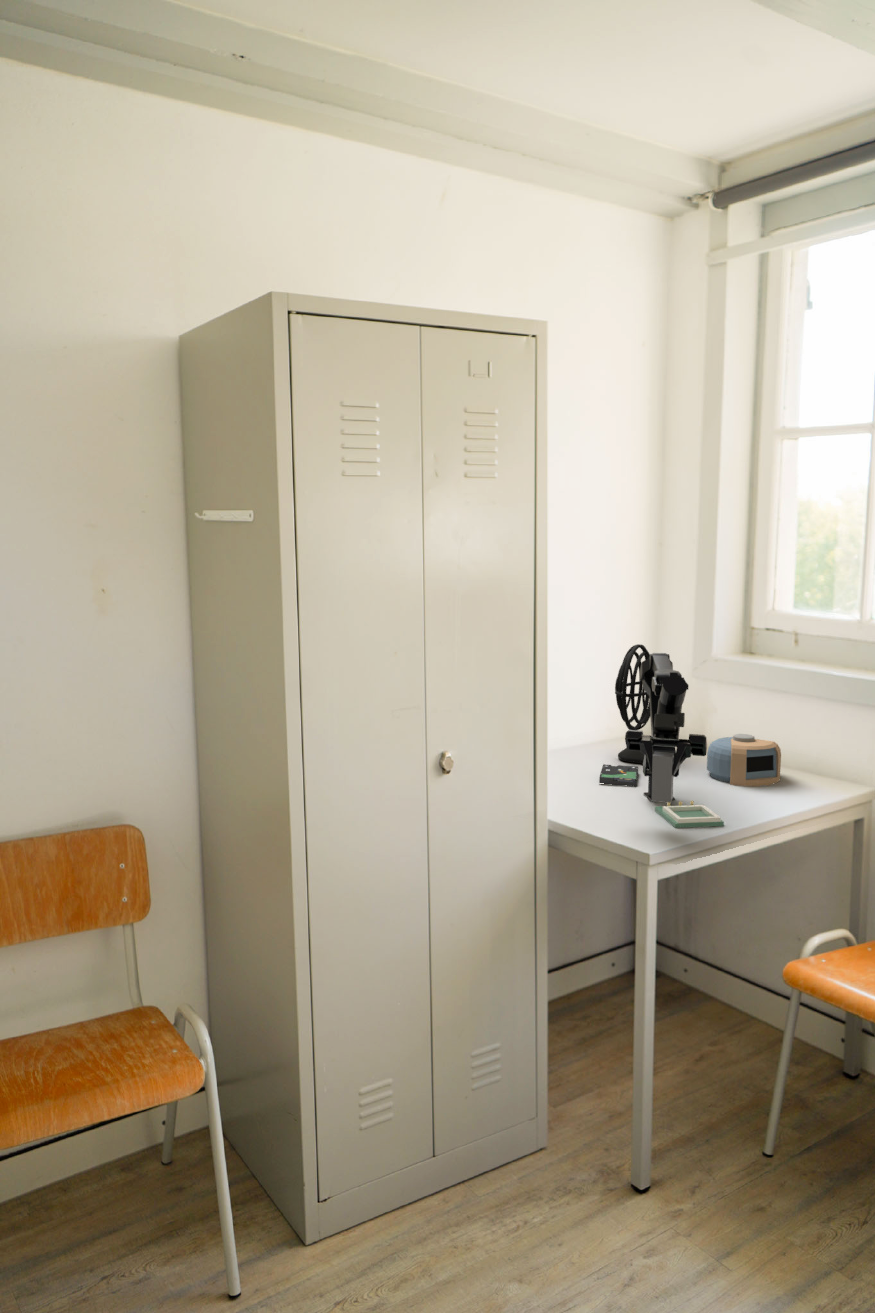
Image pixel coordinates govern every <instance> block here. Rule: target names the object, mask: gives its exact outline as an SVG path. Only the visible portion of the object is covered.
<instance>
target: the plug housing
mask: <svg viewBox="0 0 875 1313" xmlns="http://www.w3.org/2000/svg"><path fill="white" fill-rule="evenodd" d="M673 764H674V753H670V752H656V751H655V752H654V754H653V760H652V800H650V801H651V802H657V803H659V802H660V803H667V802H668V803H672V801H673V800H672V799H673V797H674V796H673V795H674V777H673V776H672V768H673Z"/></svg>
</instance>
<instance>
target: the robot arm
mask: <svg viewBox="0 0 875 1313" xmlns="http://www.w3.org/2000/svg"><path fill="white" fill-rule="evenodd" d="M649 654H650V657H649V658H648V659H646V660H645V659H644V660H642V661H641V668H640V680H642V684H643V685H642V687H643V689H644V690H645V692H646V693H647V694H648V695H649V702H650V718H649V720H650V732H651V733H650V734H651V735H649V734H644V731H643V730H641V729H639V730H629V729H628V730H627V731H626V732H625V736H624V742H625V747H626V748H627V750H629V751H641V754H644V761H643V763H642V773H643V775H644V777H648V786H647V792H646V791H645V792H643V795H644V796H645V797H646V798H648V799H649V801H651V800H652V760H653V754H654V752H655V751H656V752H670V753H674V764H673V768H672V776H673V778H678V776H680V767H681V765H682V764H683V763H684V761H685V760H686V759H687V758H688V759H689V758H690V759H691V757H692V756H698V757H699V756H700V757H706V756H707V752H708V749H707V748H708V744H707V741H708V740H707V736H706V735H705V734H696V733H695V734H694V733H689V735H688V739H684V738H680V728H684V727H685V722H686V720H685V712H683V711H682V709H683V704H684V702H685V698H686V694H687V691H688V690H689V684H688V682H687V681H686V680H685V677H683V676H682V673H681V672H680V671H678V670H674V668H673V667H674V664H673V662H672V660H671V659H670V654H669V653H665V652H664V653H663V652H653V653H649ZM675 800H676V798H675V797H674V796H673V799H672V801H675Z"/></svg>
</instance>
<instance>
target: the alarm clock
mask: <svg viewBox="0 0 875 1313" xmlns="http://www.w3.org/2000/svg"><path fill="white" fill-rule="evenodd" d="M707 748H708V749H707V752H706V756H707V757H706V770H707V771H708V772H709V773H710V777H711V778H713V779H715V780H717V779H718V781H721V782H724V781H725V783H729V785H730V786H731V785H732V786H742V787H762V786H761V785H767V786H772V785H771V784H773V783H776V784H778V783H777V782H778V781H780V780H781V766H782V765H781V763H782V752H781V750H782V749H781V748H780V746H779V744H778V743H776V742H775V741H774V740H765V739H758V738H755V735H752V734H747V733H736V734H733V736H730V737H729V736H728V737H721V738H716V740H713V741H712V742H711V743H710V744H709V746H708V747H707ZM779 779H780V780H779ZM773 785H774V784H773Z"/></svg>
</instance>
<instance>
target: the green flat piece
mask: <svg viewBox="0 0 875 1313" xmlns="http://www.w3.org/2000/svg"><path fill="white" fill-rule="evenodd" d="M689 802H690V804H689V805H683V801H678V805H671V803H672V802H671V803H668V802H666V806H665V805H664V806H663V805H661V806H659V805H658V806H654V811H655V812H656V813H657V814H659V816H660V817H662V818H663V819H664V820H666V821H667V822H668V823H669V824H670V825H671V826H673V827H674V828H675V829H676V828H699V827H701V828H703V827H704V828H705V827H724V825H725V822H724V821H723V820H722V819H721V816H719V815H718V814H716V813H715V812H714V811H713V810H711V809H710V808H708V807H707V806H705V805H704V804H695V803H694V801H693V800H690V801H689ZM694 804H695V805H694Z"/></svg>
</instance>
